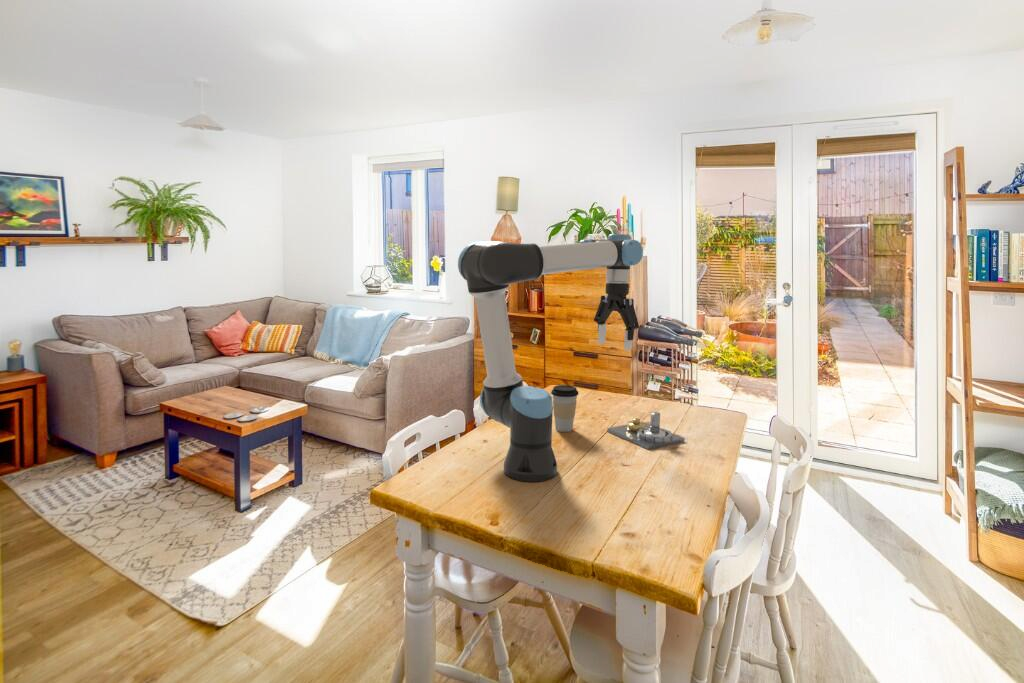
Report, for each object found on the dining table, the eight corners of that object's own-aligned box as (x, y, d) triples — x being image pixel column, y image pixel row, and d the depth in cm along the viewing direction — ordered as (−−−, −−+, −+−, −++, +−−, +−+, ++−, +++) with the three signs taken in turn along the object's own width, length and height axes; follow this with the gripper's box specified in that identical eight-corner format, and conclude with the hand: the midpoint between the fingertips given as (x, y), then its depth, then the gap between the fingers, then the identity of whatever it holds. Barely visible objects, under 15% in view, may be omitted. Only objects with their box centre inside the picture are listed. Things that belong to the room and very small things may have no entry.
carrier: (648, 449, 179) (649, 435, 178) (607, 431, 196) (607, 418, 195) (684, 441, 187) (685, 427, 186) (642, 424, 204) (642, 411, 203)
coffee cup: (577, 425, 202) (578, 384, 199) (577, 434, 192) (578, 391, 190) (550, 424, 203) (551, 384, 200) (549, 433, 193) (550, 390, 191)
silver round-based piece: (654, 441, 183) (655, 417, 181) (639, 435, 188) (640, 412, 187) (670, 438, 186) (671, 414, 185) (654, 431, 192) (655, 409, 191)
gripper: (653, 284, 175) (648, 352, 179) (603, 280, 197) (600, 340, 200) (634, 284, 172) (630, 353, 175) (585, 280, 193) (582, 341, 197)
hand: (614, 346), depth 188 cm, fingers open, 13 cm apart
